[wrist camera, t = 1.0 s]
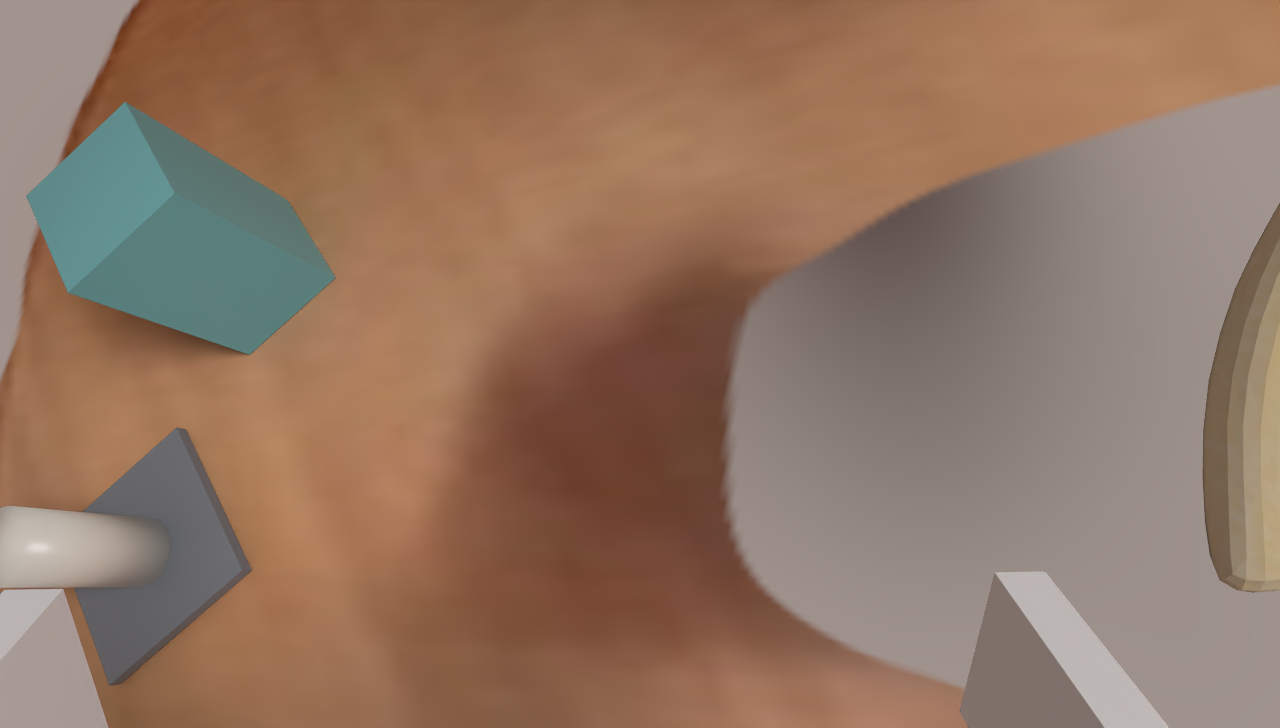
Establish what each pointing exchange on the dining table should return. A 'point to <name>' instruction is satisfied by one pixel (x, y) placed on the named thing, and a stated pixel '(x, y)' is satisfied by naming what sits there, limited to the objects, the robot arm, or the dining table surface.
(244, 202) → the teal rectangular prism
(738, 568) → the dining table surface
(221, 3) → the dining table surface
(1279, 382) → the pizza slice
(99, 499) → the post
